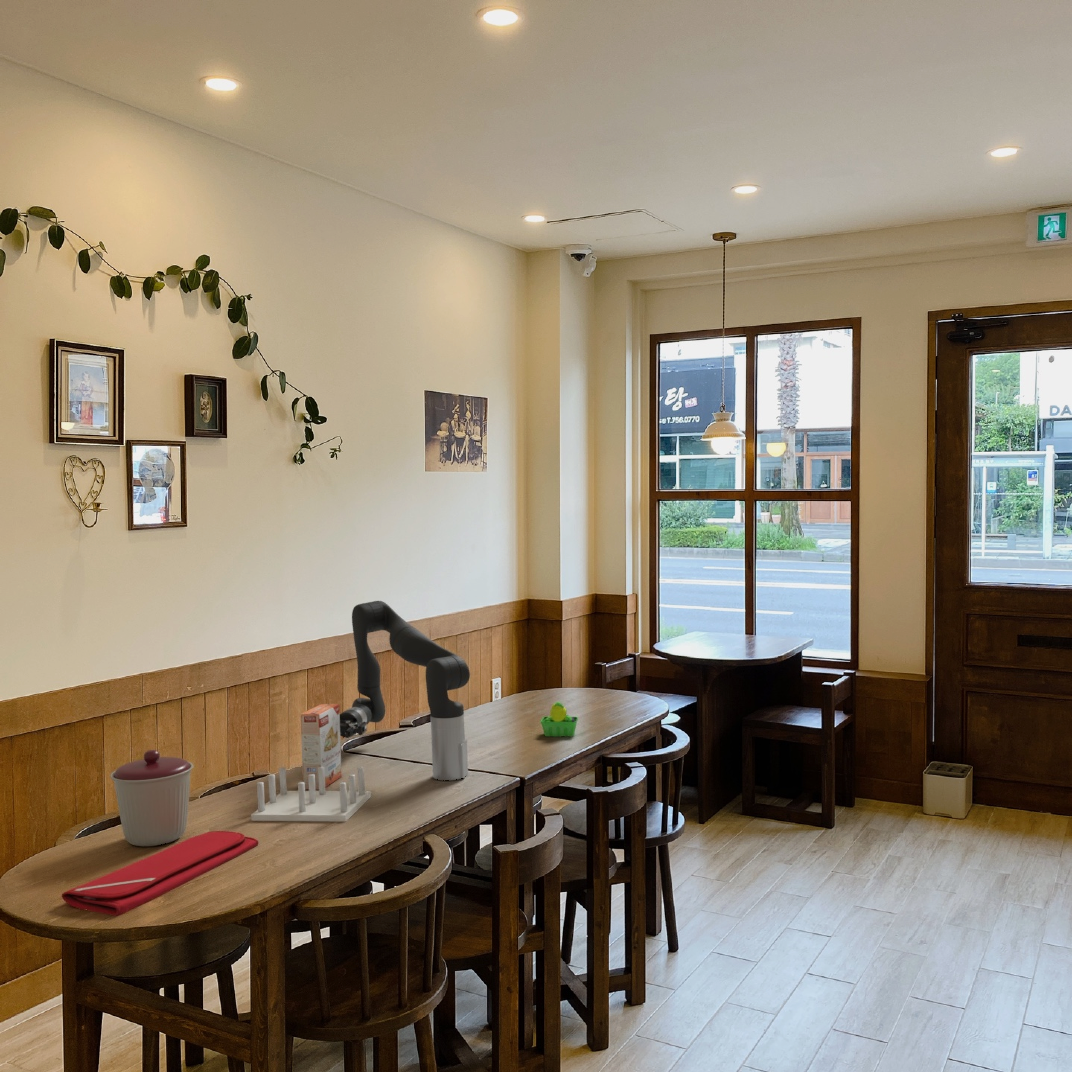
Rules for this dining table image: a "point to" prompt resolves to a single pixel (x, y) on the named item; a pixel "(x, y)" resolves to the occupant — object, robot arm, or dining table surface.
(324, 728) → the cracker box
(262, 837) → the dining table surface
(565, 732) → the fruit basket
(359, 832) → the dining table surface
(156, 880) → the dish drying mat
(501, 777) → the dining table surface
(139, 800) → the canister
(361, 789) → the dish rack
